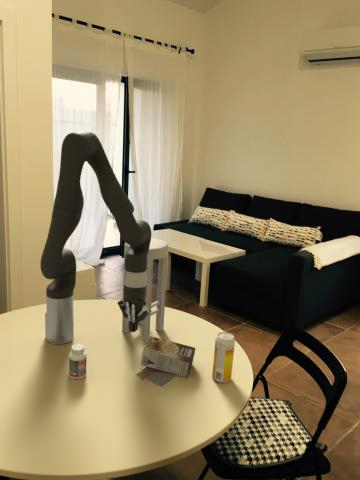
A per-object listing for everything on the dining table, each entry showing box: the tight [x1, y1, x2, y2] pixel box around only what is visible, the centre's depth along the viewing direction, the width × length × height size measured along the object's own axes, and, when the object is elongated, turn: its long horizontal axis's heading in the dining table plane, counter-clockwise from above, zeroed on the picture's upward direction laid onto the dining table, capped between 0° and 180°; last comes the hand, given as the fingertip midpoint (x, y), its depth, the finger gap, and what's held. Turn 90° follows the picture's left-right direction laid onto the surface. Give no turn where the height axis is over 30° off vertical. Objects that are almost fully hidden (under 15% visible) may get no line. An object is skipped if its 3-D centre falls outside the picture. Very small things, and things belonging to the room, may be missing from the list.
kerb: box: [140, 368, 157, 381], centre depth 146 cm, size 1×14×1 cm, turn 146°
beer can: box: [211, 331, 236, 384], centre depth 142 cm, size 6×6×15 cm
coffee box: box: [140, 335, 196, 378], centre depth 147 cm, size 9×6×16 cm
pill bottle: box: [68, 343, 87, 380], centre depth 140 cm, size 5×5×10 cm
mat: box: [136, 366, 177, 387], centre depth 145 cm, size 10×12×1 cm
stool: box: [121, 237, 169, 341], centre depth 168 cm, size 16×16×35 cm
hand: (133, 331), depth 149 cm, fingers closed
